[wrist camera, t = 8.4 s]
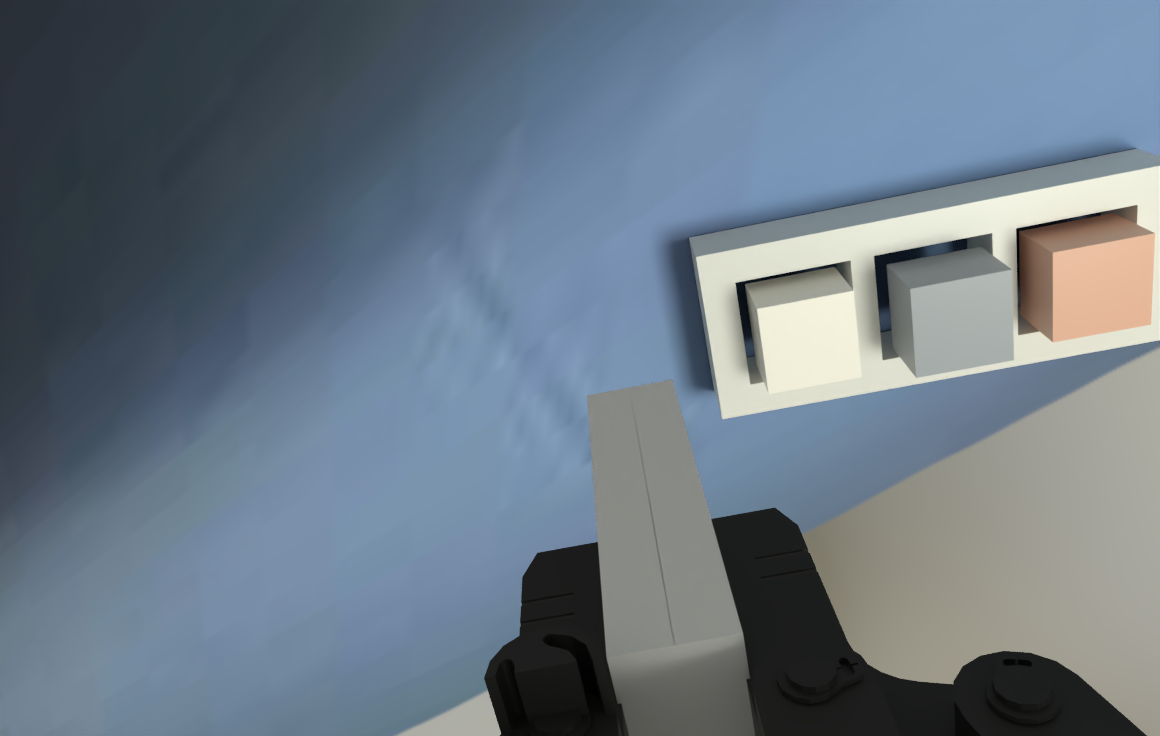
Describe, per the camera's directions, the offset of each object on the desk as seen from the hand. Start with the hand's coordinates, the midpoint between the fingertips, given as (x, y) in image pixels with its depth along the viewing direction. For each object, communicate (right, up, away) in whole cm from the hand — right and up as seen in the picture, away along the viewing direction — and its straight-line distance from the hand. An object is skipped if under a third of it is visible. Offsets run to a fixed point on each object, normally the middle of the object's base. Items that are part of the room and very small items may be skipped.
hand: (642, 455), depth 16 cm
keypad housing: (+15, +6, +27) cm, 31 cm away
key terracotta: (+20, +6, +25) cm, 32 cm away
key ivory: (+9, +4, +26) cm, 27 cm away
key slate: (+15, +5, +24) cm, 29 cm away
